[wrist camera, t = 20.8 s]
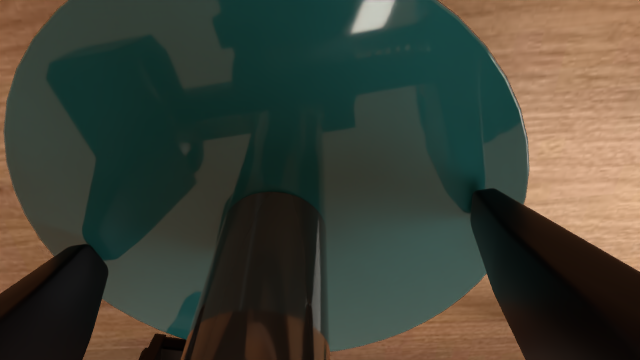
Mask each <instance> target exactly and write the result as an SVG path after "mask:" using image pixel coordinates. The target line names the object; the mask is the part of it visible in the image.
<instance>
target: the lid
mask: <svg viewBox="0 0 640 360" xmlns="http://www.w3.org/2000/svg"><path fill="white" fill-rule="evenodd" d="M4 142H5V153H6V162H7V166H8V170H9V174H10V177H11V181H12V185H13V188H14V191H15V193H16V196H17V198H18V200H19V202H20V205H21V207H22V209H23V211H24V214H25V216H26V217H27V219H28V221H29V222H30V224H31V225H32V227H33V229H34V230H35V232H36V233H37V235H38V237H39V238H40V240H41V241H42V242H43V243H44V245H45V246H46V247H47V248H48V250H49V251H50V252H51V253H52V254H53V256H54V257H55V256H56V255H57V254H59V253H60V252H62V251H63V250H65V249H66V248H68V247H70V246H73V245H81V244H88V245H90V246H92V247H93V248H94V250H95V251H96V252H97V253H98V255H99V256H100V257H101V258H102V260H103V261H104V262H105V263H106V265H107V267H108V271H109V272H108V278H107V282H106V286H105V289H104V293H103V296H102V299H103V300H105V301H106V302H108V303H109V304H111V305H112V306H114V307H115V308H117V309H118V310H120V311H122V312H124V313H126V314H127V315H129V316H131V317H133V318H135V319H136V320H138V321H141V322H143V323H145V324H147V325H149V326H152V327H154V328H156V329H158V330H161V331H163V332H166V333H169V334H172V335H174V336H177V337H180V338H182V339H186V344H185V347H184V350H183V353H182V356H181V360H330V352H333V351H340V350H345V349H350V348H355V347H360V346H364V345H367V344H371V343H374V342H378V341H381V340H384V339H387V338H390V337H392V336H395V335H398V334H400V333H403V332H405V331H407V330H410V329H412V328H414V327H416V326H418V325H420V324H422V323H424V322H426V321H428V320H429V319H431V318H433V317H434V316H436V315H438V314H439V313H441V312H443V311H444V310H446V309H447V308H449V307H450V306H451V305H453V304H454V303H455V302H457V301H458V300H459V299H461V298H462V297H463V296H464V295H465V294H467V293H468V292H469V291H470V290H471V289H472V288H473V287H474V286H475V285H476V284H477V283H479V282H480V280H481V279H482V278H483V277H484V276H485V275H486V274H487V272H486V269H485V266H484V263H483V260H482V257H481V254H480V251H479V249H478V246H477V243H476V240H475V237H474V234H473V231H472V228H471V222H470V217H471V206H472V196H473V193H474V192H475V191H476V190H481V189H489V188H494V189H497V190H499V191H500V192H502V193H504V194H506V195H507V196H509V197H511V198H513V199H514V200H516V201H518V202H520V203H521V204H523V205H524V202H525V198H526V193H527V185H528V176H529V153H528V138H527V133H526V129H525V125H524V121H523V116H522V112H521V108H520V106H519V103H518V101H517V99H516V96H515V94H514V92H513V90H512V87H511V85H510V83H509V80H508V78H507V76H506V75H505V73H504V72H503V70H502V69H501V67H500V66H499V64H498V63H497V61H496V60H495V58H494V57H493V55H492V53H491V52H490V50H489V49H488V47H487V46H486V45H485V44H484V43H483V42H482V41H481V39H480V38H479V37H478V36H477V35H476V34H475V33H474V32H473V31H472V30H471V29H470V28H469V27H468V26H467V25H466V24H465V23H464V21H463V20H462V19H461V18H460V17H459V16H458V15H456V14H455V13H454V12H453V11H451V10H450V9H449V8H447V7H446V6H445V5H443V4H442V3H441V2H439V1H438V0H67V1H66V2H65V3H63V4H62V5H61V6H60V7H59V8H58V9H57V10H56V11H55V12H54V13H53V15H52V16H51V17H50V18H49V19H48V21H47V22H46V23H45V24H44V25H43V26H42V28H41V29H40V30H39V31H38V32H37V33H36V35H35V36H34V37H33V39H32V41H31V43H30V45H29V46H28V48H27V50H26V52H25V54H24V55H23V57H22V59H21V61H20V63H19V65H18V66H17V68H16V72H15V75H14V78H13V81H12V85H11V88H10V91H9V94H8V98H7V102H6V112H5V122H4Z"/></svg>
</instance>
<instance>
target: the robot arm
mask: <svg viewBox="0 0 640 360" xmlns="http://www.w3.org/2000/svg"><path fill="white" fill-rule="evenodd" d="M470 222H471V228H472V231H473V234H474V237H475V240H476V243H477V246H478V249H479V251H480V254H481V257H482V260H483V263H484V266H485V269H486V272H487V275H488V278H489V281H490V284H491V286H492V289H493V292H494V294H495V296H496V298H497V301H498V303H499V305H500V307H501V309H502V311H503V313H504V315H505V318H506V320H507V322H508V324H509V326H510V328H511V330H512V332H513V334H514V336H515V338H516V341H517V343H518V345H519V347H520V349H521V351H522V353H523V355H524V357H525V359H526V360H640V272H639V271H637V270H636V269H634V268H632V267H630V266H629V265H627V264H625V263H623V262H622V261H620V260H618V259H617V258H615V257H613V256H611V255H610V254H608V253H606V252H604V251H603V250H601V249H599V248H597V247H596V246H594V245H592V244H591V243H589V242H587V241H585V240H584V239H582V238H580V237H578V236H577V235H575V234H573V233H571V232H570V231H568V230H566V229H565V228H563V227H561V226H559V225H558V224H556V223H554V222H552V221H551V220H549V219H547V218H546V217H544V216H542V215H540V214H539V213H537V212H535V211H533V210H532V209H530V208H528V207H526V206H525V205H523V204H521V203H520V202H518V201H516V200H514V199H513V198H511V197H509V196H507V195H506V194H504V193H502V192H500V191H499V190H497V189H494V188H489V189H481V190H476V191H475V192H474V193H473V196H472V206H471V217H470ZM108 272H109V271H108V267H107V265H106V263H105V262H104V261H103V260H102V258H101V257H100V256H99V255H98V253H97V252H96V251H95V250H94V248H93V247H92V246H90V245H88V244H81V245H73V246H70V247H68V248H66V249H65V250H63V251H62V252H60V253H59V254H57V255H56V256H55V257H53V258H52V259H50V260H49V261H47V262H46V263H44V264H43V265H41V266H40V267H39V268H37V269H36V270H34V271H33V272H31V273H30V274H28V275H27V276H25V277H24V278H23V279H21V280H20V281H18V282H17V283H15V284H14V285H12V286H11V287H10V288H8V289H7V290H5V291H4V292H2V293H1V294H0V360H82V359H83V357H84V354H85V352H86V349H87V346H88V344H89V341H90V338H91V335H92V332H93V329H94V325H95V322H96V318H97V315H98V311H99V307H100V304H101V300H102V296H103V293H104V289H105V286H106V282H107V278H108ZM185 344H186V339H179V338H172V337H166V335H163V334H155V335H154V337H153V339H152V341H151V343H150V345H149V347H148V348H145V349H144V350H143V351H142V352H141V355H140V357H139V360H181V356H182V353H183V350H184V347H185Z"/></svg>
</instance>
